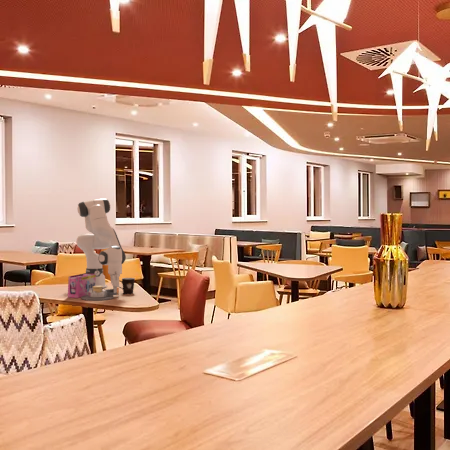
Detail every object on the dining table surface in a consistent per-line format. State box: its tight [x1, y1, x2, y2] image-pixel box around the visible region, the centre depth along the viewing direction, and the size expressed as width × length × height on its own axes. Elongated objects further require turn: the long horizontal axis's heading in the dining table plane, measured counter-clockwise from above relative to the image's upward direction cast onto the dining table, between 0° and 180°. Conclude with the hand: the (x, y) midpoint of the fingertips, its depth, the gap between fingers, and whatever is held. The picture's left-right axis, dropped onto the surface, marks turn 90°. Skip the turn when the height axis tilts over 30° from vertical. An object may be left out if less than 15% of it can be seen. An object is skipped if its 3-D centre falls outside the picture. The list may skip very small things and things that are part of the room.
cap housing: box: [80, 286, 115, 302], centre depth 361 cm, size 20×20×8 cm
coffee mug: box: [119, 277, 135, 295], centre depth 384 cm, size 12×9×10 cm
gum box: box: [67, 272, 96, 299], centre depth 371 cm, size 24×8×14 cm, turn 164°
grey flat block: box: [88, 287, 120, 298], centre depth 363 cm, size 20×11×5 cm, turn 123°
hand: (114, 292), depth 363 cm, fingers closed
